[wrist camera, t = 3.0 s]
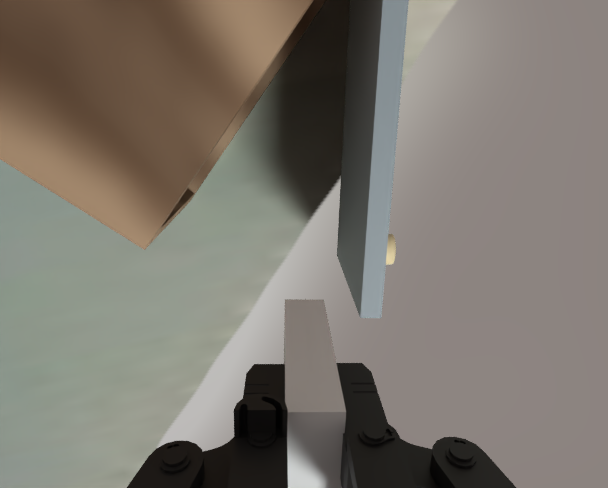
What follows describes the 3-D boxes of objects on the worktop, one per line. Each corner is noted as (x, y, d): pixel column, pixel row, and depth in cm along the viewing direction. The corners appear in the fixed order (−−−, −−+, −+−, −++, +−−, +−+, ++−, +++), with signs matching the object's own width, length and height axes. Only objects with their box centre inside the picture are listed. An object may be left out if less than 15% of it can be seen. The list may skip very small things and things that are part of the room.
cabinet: (190, 201, 34) (144, 249, 23) (19, 87, 31) (-130, 77, 20) (348, -34, 30) (390, -117, 19) (169, -192, 27) (88, -407, 16)
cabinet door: (351, -22, 30) (389, -90, 19) (392, -20, 30) (451, -86, 20) (337, 255, 36) (360, 317, 25) (371, 255, 36) (408, 317, 26)
